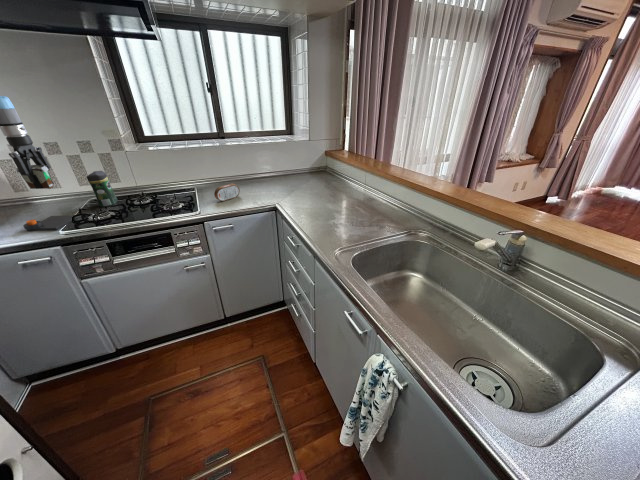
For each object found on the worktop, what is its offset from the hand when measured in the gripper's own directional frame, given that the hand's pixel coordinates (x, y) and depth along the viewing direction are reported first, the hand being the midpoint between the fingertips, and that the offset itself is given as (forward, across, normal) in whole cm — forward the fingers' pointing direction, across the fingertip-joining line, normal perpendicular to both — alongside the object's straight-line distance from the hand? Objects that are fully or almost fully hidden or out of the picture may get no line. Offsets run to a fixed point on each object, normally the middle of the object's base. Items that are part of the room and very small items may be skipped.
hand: (45, 186), depth 129 cm
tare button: (+14, -12, +3) cm, 19 cm away
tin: (+17, +21, -80) cm, 84 cm away
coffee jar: (+17, +17, -12) cm, 27 cm away
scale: (+17, -8, -2) cm, 19 cm away
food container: (+1, 0, 0) cm, 1 cm away
